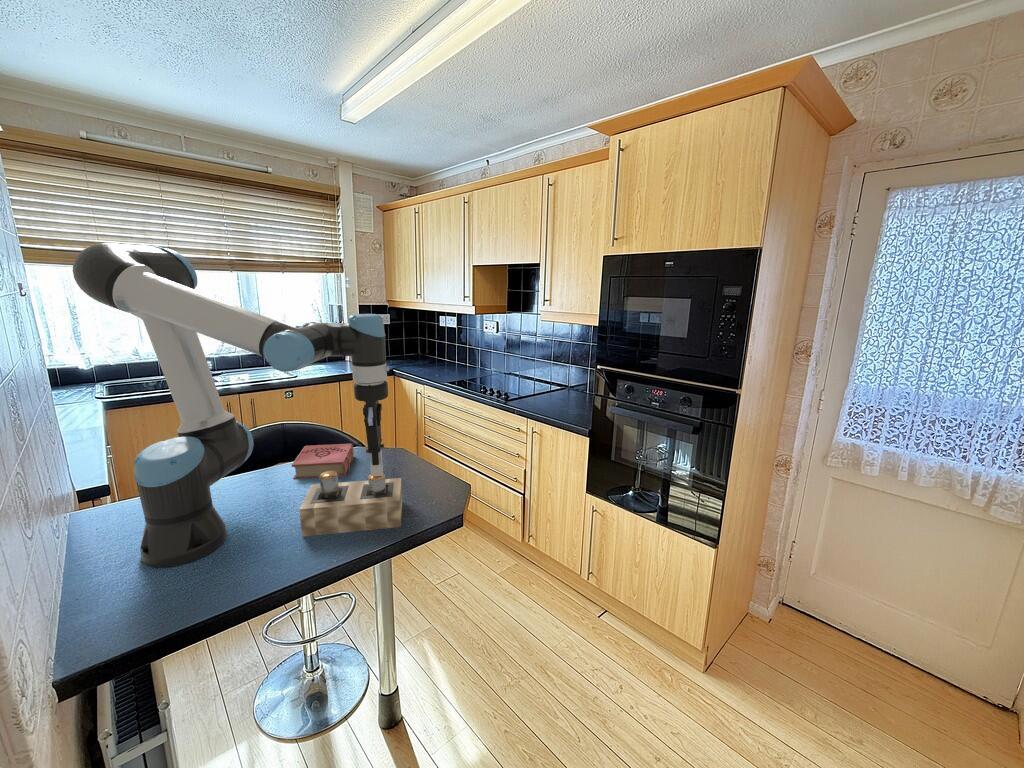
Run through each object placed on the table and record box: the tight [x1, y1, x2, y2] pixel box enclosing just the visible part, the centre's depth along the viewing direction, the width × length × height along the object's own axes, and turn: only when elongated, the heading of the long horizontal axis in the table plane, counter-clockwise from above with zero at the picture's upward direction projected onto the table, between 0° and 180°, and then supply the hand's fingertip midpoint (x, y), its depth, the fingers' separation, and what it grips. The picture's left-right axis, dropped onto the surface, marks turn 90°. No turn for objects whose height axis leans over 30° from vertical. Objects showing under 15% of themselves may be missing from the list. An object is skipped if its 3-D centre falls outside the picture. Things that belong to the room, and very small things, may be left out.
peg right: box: [367, 472, 386, 496], centre depth 106 cm, size 4×4×7 cm
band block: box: [299, 477, 403, 538], centre depth 106 cm, size 22×12×7 cm, turn 102°
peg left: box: [318, 471, 340, 500], centre depth 104 cm, size 4×4×7 cm
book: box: [291, 443, 355, 480], centre depth 134 cm, size 14×15×5 cm
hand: (377, 474), depth 106 cm, fingers closed
